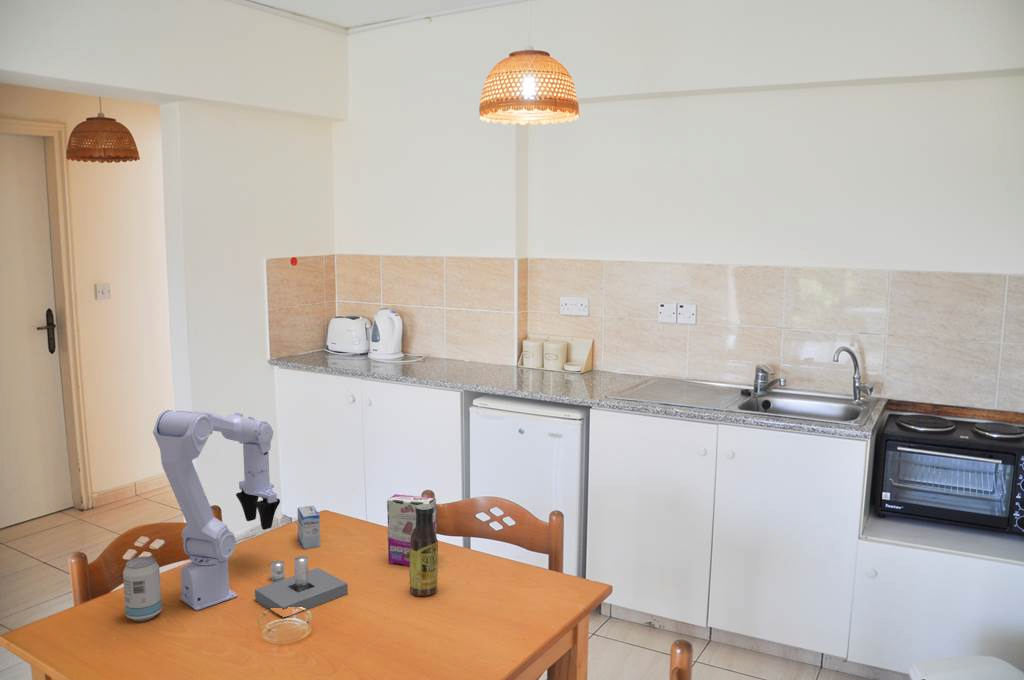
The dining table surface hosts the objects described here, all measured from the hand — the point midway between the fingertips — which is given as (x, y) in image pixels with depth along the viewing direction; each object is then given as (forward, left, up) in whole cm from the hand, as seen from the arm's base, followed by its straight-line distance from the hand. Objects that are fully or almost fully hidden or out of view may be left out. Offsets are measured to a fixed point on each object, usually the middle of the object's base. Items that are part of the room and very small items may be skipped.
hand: (258, 524), depth 193 cm
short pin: (-1, -10, -10) cm, 15 cm away
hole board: (-2, -22, -10) cm, 24 cm away
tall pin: (-2, -22, -10) cm, 24 cm away
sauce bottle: (+19, -39, -11) cm, 45 cm away
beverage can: (-30, -6, -11) cm, 32 cm away
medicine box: (+16, +4, -11) cm, 20 cm away
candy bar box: (+27, -25, -11) cm, 38 cm away
